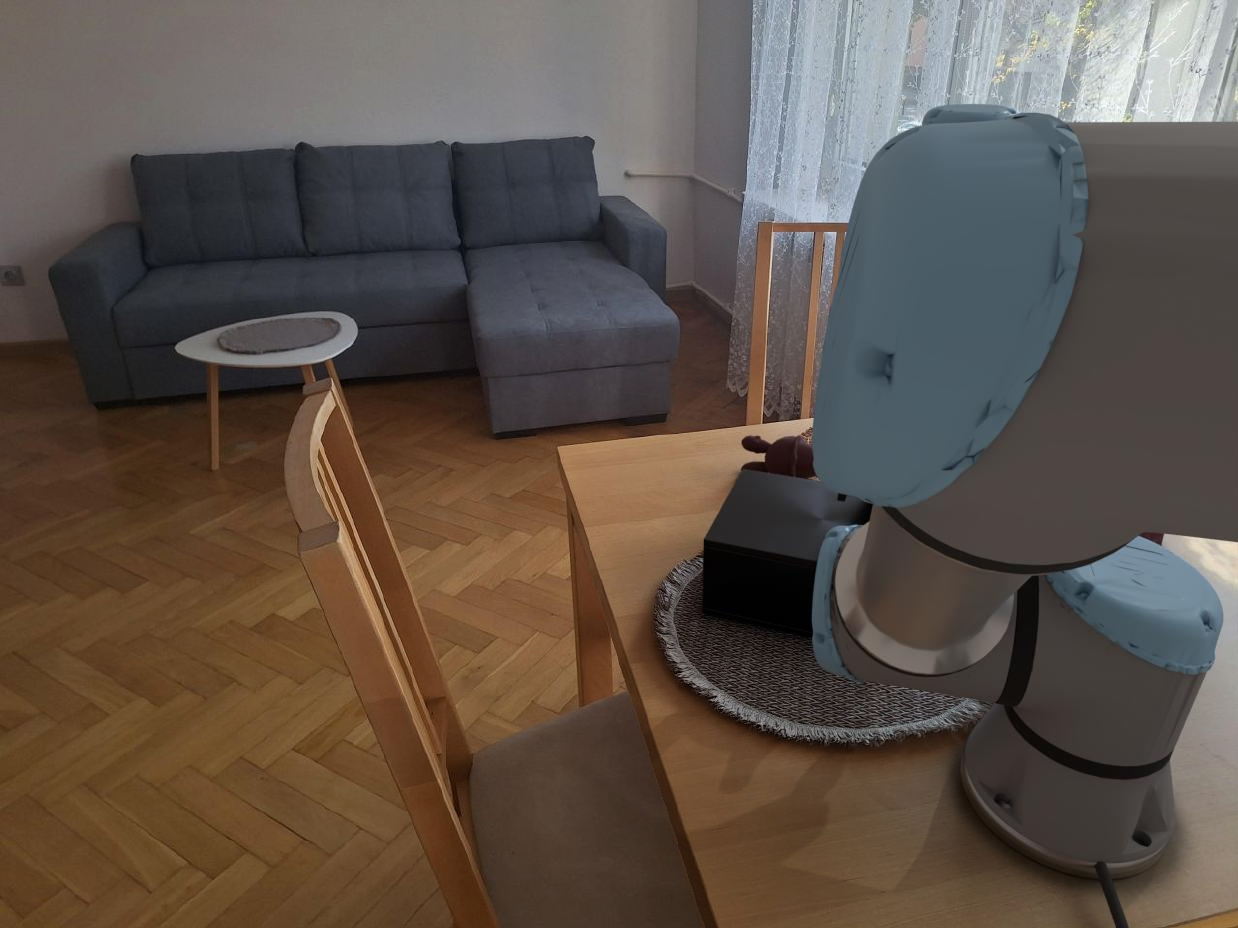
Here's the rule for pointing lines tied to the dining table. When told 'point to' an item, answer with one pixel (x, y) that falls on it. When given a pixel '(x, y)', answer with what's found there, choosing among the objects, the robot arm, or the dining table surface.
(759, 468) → the icecream
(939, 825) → the dining table surface
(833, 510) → the lid
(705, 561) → the black open box
